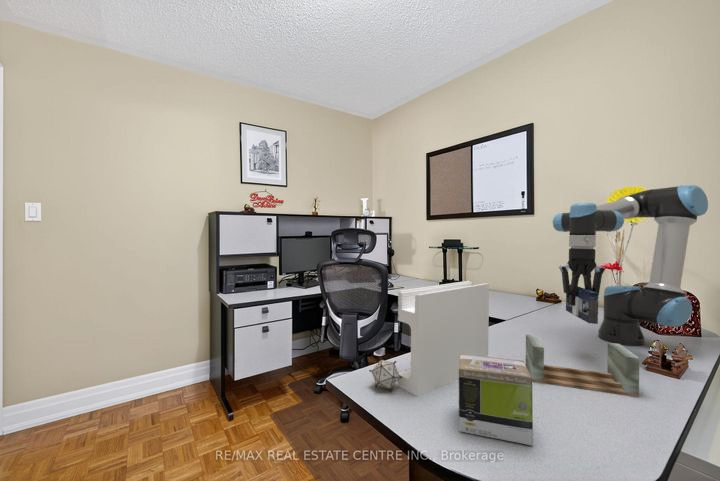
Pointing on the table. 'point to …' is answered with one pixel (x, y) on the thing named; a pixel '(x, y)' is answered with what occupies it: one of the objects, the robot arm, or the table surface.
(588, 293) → the vhs cassette tape
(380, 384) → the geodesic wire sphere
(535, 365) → the cassette cradle
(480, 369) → the tea box
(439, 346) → the block
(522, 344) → the table surface
